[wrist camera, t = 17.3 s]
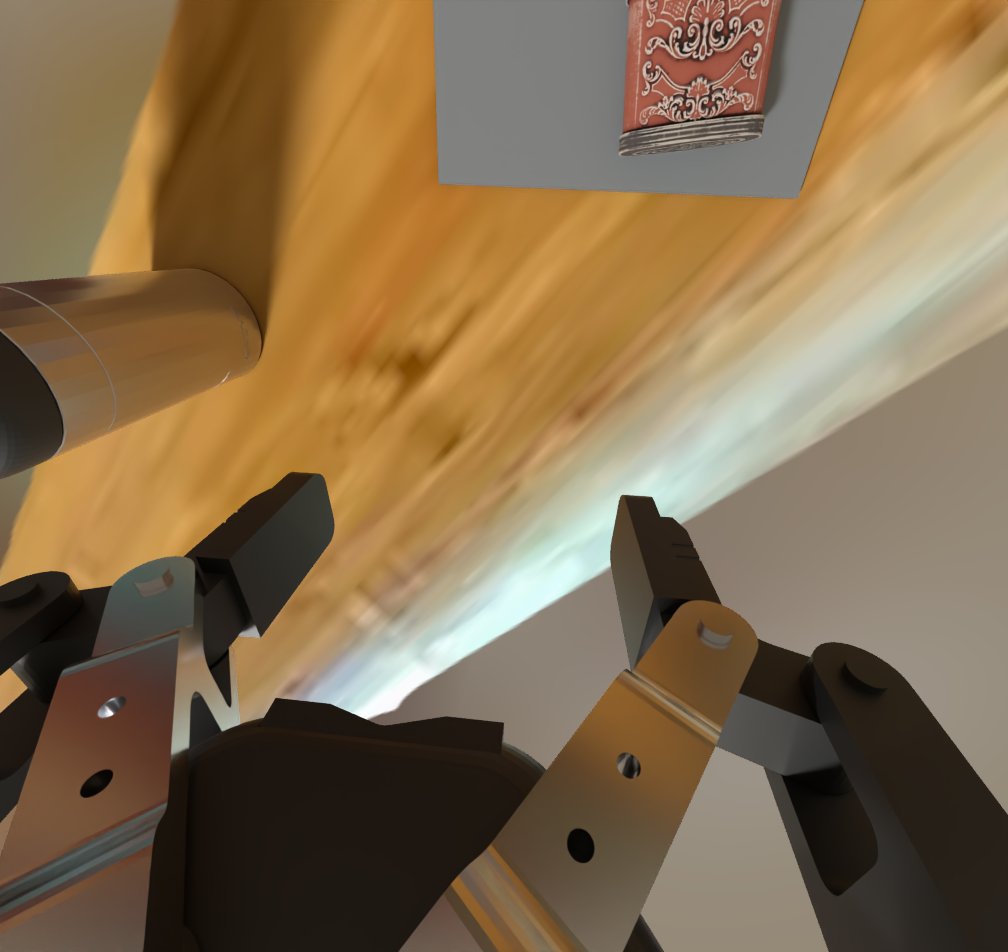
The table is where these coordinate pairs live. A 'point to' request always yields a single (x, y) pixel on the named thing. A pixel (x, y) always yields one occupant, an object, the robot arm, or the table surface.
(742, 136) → the lighter
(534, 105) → the mat
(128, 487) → the table surface
